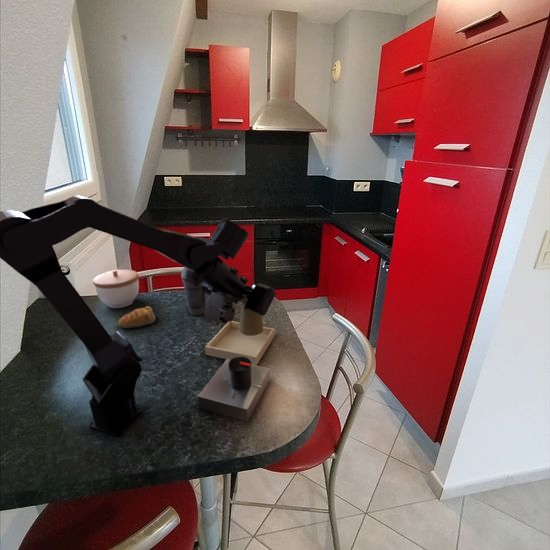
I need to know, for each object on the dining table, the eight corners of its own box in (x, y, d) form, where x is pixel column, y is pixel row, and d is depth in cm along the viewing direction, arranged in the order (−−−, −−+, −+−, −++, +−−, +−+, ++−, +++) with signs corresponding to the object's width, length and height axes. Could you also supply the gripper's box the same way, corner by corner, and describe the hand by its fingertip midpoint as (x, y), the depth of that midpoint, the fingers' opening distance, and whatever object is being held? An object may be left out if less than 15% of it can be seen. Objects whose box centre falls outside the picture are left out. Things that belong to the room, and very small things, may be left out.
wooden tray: (256, 365, 73) (256, 357, 72) (205, 354, 77) (205, 346, 76) (274, 336, 84) (274, 328, 84) (229, 327, 88) (229, 320, 87)
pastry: (122, 333, 86) (120, 320, 84) (116, 323, 90) (113, 311, 89) (157, 322, 91) (155, 310, 90) (149, 313, 96) (147, 301, 95)
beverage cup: (198, 303, 102) (192, 242, 94) (214, 310, 98) (210, 247, 90) (179, 312, 96) (172, 248, 89) (196, 319, 92) (189, 253, 85)
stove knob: (225, 387, 62) (224, 366, 60) (235, 373, 66) (234, 353, 64) (246, 392, 61) (245, 371, 59) (255, 377, 65) (254, 357, 63)
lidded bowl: (149, 296, 107) (145, 265, 103) (126, 314, 95) (119, 280, 91) (116, 293, 109) (110, 262, 105) (89, 310, 98) (81, 276, 94)
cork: (268, 327, 81) (268, 287, 77) (254, 338, 76) (253, 296, 72) (248, 321, 84) (248, 282, 80) (234, 331, 79) (232, 290, 75)
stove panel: (249, 422, 58) (248, 409, 57) (199, 408, 61) (197, 395, 60) (271, 380, 69) (271, 368, 67) (227, 370, 72) (226, 358, 70)
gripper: (171, 297, 70) (213, 322, 82) (231, 324, 59) (269, 348, 72) (197, 254, 73) (233, 284, 85) (259, 273, 62) (290, 304, 74)
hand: (254, 304), depth 79 cm, fingers closed on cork, 5 cm apart
